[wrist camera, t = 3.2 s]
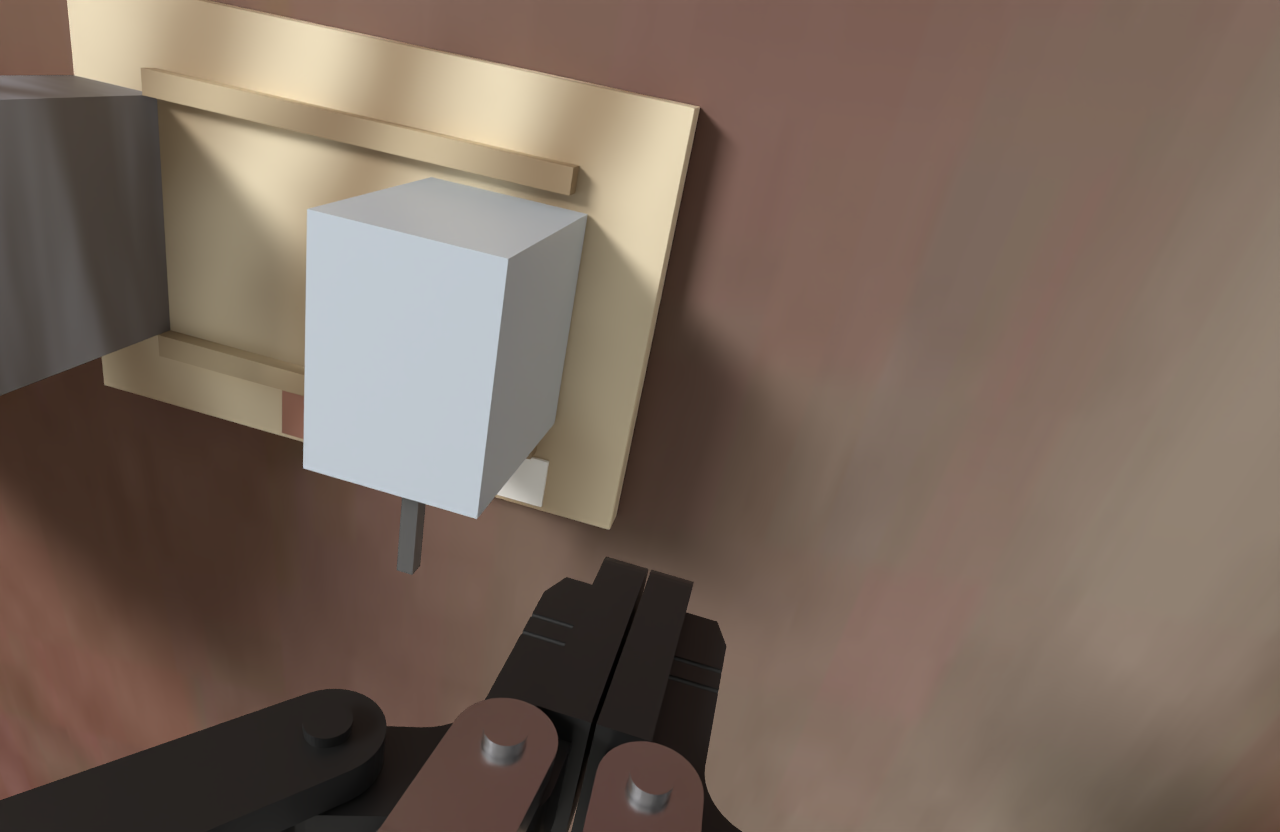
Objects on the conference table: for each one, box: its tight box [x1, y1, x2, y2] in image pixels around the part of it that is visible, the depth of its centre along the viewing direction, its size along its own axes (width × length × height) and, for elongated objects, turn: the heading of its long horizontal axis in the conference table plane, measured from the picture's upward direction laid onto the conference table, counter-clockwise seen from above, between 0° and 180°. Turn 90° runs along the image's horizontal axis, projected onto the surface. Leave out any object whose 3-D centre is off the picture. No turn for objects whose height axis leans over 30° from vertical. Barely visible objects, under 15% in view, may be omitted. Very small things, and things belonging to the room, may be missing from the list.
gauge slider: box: [303, 177, 588, 575], centre depth 24 cm, size 7×10×6 cm, turn 169°
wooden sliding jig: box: [0, 0, 700, 530], centre depth 24 cm, size 20×14×8 cm
